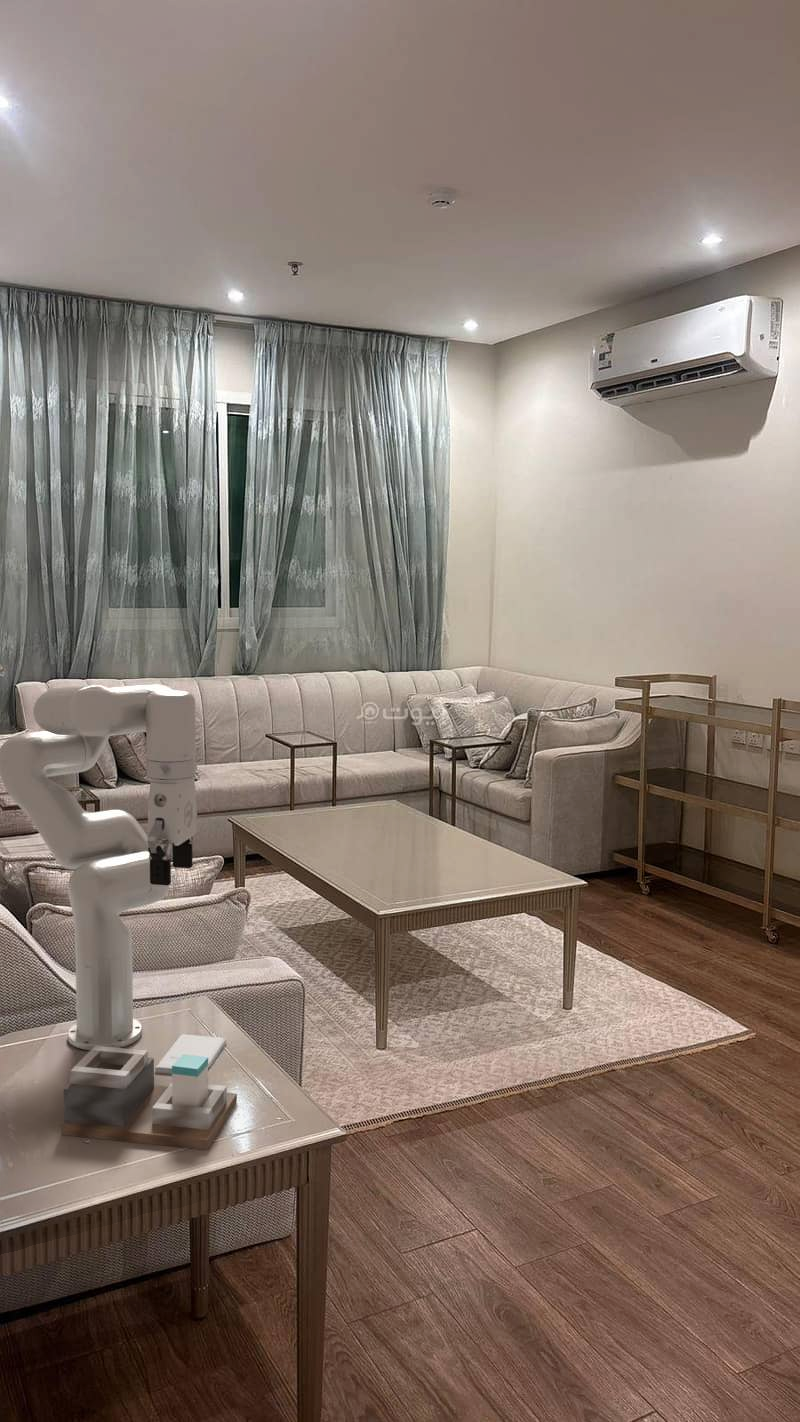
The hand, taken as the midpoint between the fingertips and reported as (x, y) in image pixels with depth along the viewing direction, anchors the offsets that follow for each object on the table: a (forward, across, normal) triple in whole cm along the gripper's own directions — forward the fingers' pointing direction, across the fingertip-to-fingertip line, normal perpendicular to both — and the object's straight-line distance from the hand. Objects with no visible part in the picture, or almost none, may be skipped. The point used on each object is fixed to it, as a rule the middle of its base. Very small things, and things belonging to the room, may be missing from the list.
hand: (171, 875), depth 172 cm
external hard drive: (+34, +6, -1) cm, 35 cm away
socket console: (+33, -14, -2) cm, 36 cm away
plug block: (+32, -14, -8) cm, 36 cm away
